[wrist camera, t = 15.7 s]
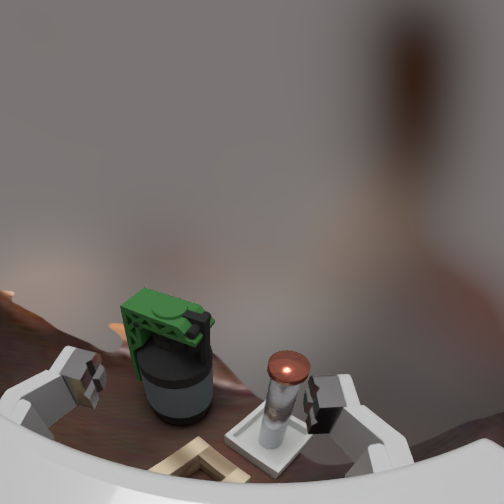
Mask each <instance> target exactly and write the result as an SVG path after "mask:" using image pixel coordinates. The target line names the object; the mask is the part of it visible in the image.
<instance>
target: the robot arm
mask: <svg viewBox="0 0 504 504" xmlns="http://www.w3.org/2000/svg"><path fill="white" fill-rule="evenodd" d="M101 361H102V359H101V357H100V354H97V353H94V352H90V351H86V350H82V349H79V348H75V347H71V346H66V347H65V348H64V349H63V351H62V352H61V354H60V355H59V356H58V358H57V359H56V361H55V362H54V364H53V365H52V367H51V368H50V370H49V371H48V370H45V371H43V372H41V373H39V374H37V375H35V376H33V377H31V378H30V379H28V380H26V381H24V382H22V383H20V384H18V385H16V386H14V387H12V388H10V389H8V390H6V392H5V393H4V395H3V396H2V398H1V399H0V504H504V448H503V447H501V446H499V445H498V444H496V443H494V442H493V441H490V440H488V439H480V440H477V441H475V442H472V443H470V444H468V445H465V446H463V447H460V448H458V449H455V450H453V451H450V452H447V453H444V454H442V455H439V456H436V457H433V458H430V459H426V460H423V461H420V462H416V463H414V461H413V458H412V455H411V452H410V450H409V447H408V444H407V441H406V439H405V437H404V436H402V435H401V434H400V433H398V432H397V431H396V430H395V429H393V428H392V427H391V426H389V425H388V424H387V423H385V422H384V421H383V420H382V419H381V418H379V417H378V416H377V415H375V414H374V413H373V412H372V411H371V410H369V409H368V408H367V407H365V406H364V405H362V406H361V405H360V402H359V399H358V396H357V393H356V390H355V387H354V384H353V381H352V379H351V376H350V375H349V374H343V375H312V376H311V377H310V378H309V381H308V384H309V387H308V388H307V389H306V390H305V394H304V401H303V402H304V412H305V413H306V414H307V415H308V417H307V419H306V426H307V432H308V434H329V435H330V436H331V437H332V439H333V440H334V441H335V442H336V443H337V444H338V445H339V446H340V448H341V449H342V450H343V451H344V452H345V453H346V454H347V455H348V456H349V458H350V459H351V460H352V461H353V462H354V463H355V464H354V465H353V466H352V468H351V469H350V470H349V471H348V472H347V473H346V475H345V477H346V478H341V479H333V480H325V481H314V482H301V483H274V484H259V483H232V482H219V481H208V480H199V479H192V478H185V477H178V476H172V475H166V474H161V473H156V472H151V471H147V470H142V469H138V468H134V467H130V466H126V465H122V464H119V463H115V462H112V461H108V460H105V459H102V458H99V457H96V456H93V455H90V454H87V453H84V452H81V451H78V450H76V449H73V448H70V447H68V446H65V445H63V444H60V443H58V442H56V441H54V439H55V438H54V435H53V434H52V433H51V431H50V430H49V429H48V427H49V426H51V425H52V424H53V423H55V422H56V421H57V420H59V419H60V418H61V417H62V416H64V415H65V414H66V413H68V412H69V411H70V410H72V409H73V408H74V407H76V406H77V405H80V406H84V407H87V408H91V409H94V408H95V406H96V404H97V402H98V400H99V394H98V392H100V391H102V390H103V389H104V386H105V384H106V371H105V368H104V367H103V366H102V365H101V364H100V363H101ZM76 404H77V405H76Z"/></svg>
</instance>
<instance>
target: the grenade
mask: <svg viewBox="0 0 504 504" xmlns="http://www.w3.org/2000/svg"><path fill="white" fill-rule="evenodd" d="M120 307H121V312H122V317H123V323H124V328H125V332H126V337H127V342H128V346H129V350H130V354H131V359H132V363H133V367H134V370H135V374H136V378H137V380H139V381H141V380H142V381H143V385H144V389H145V392H146V396H147V399H148V401H149V403H150V405H151V406H152V407H153V409H154V410H155V411H156V412H157V414H158V415H159V416H160V417H161V418H162V419H163V420H165V421H166V422H168V423H171V424H174V425H182V426H183V425H190V424H193V423H196V422H197V421H199V420H200V419H202V418H203V416H204V415H205V414H206V412H207V409H208V407H209V405H210V402H211V400H212V397H213V368H212V349H211V346H210V328H211V327H212V325H213V324H214V323H215V320H214V319H213V318H212V317H211V314H210V313H209V312H206V311H205V310H204V309H203V308H202V307H201V306H200V305H198V304H195V303H192V302H189V301H185V300H182V299H179V298H176V297H173V296H169V295H166V294H163V293H160V292H157V291H153V290H151V289H147V288H143V289H141V290H140V291H139V292H138V293H136V294H135V295H134V296H132V297H131V298H130V299H128V300H127V301H126V302H125V303H123V304H122V305H121V306H120Z"/></svg>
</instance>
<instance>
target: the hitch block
mask: <svg viewBox="0 0 504 504" xmlns="http://www.w3.org/2000/svg"><path fill="white" fill-rule="evenodd" d="M200 468H201V469H202V470H203V471H204V472H205V473H206V474H208V475H209V476H210V477H211V478H213V479H214V480H215V481H219V482H232V483H250V479H251V476H249V475H248V474H246V473H245V472H243V471H242V470H241V469H239V468H238V467H237V466H235V465H234V464H233V463H231V462H230V461H229V460H227V459H226V458H225V457H223V456H222V455H221V454H220V453H218V452H217V451H216V450H215V449H213V448H212V447H211V446H210V445H208V444H207V443H206V442H205V441H204V440H203V439H201V438H200V437H199V436H198V437H197V438H195V439H194V440H192V441H191V442H190V443H188V444H187V445H185V446H184V447H182V448H181V449H180V450H178V451H177V452H175V453H174V454H172V455H171V456H169V457H168V458H166V459H165V460H163V461H162V462H160V463H158V464H157V465H155V466H154V467H152V468H151V469H149V470H147V471H151V472H156V473H161V474H166V475H172V476H178V477H185V478H188V477H189V476H191V475H192V474H193V473H195V472H196V471H197V470H199V469H200Z"/></svg>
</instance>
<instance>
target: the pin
mask: <svg viewBox="0 0 504 504" xmlns="http://www.w3.org/2000/svg"><path fill="white" fill-rule="evenodd" d="M309 371H310V363H309V361H308V359H307V358H306V357H305V356H303V355H302V354H300V353H297V352H294V351H279V352H277V353H275V354H273V355H272V356H271V357H270V359H269V361H268V367H267V372H268V374H269V376H270V382H269V387H268V392H267V398H266V403H265V408H264V413H263V418H262V423H261V428H260V433H259V437H258V441H259V444H260V445H261V446H262V447H264V448H266V449H276V448H278V447H279V446H280V445H281V444H282V441H283V438H284V436H285V433H286V430H287V427H288V424H289V421H290V418H291V415H292V412H293V408H294V405H295V402H296V398H297V396H298V392H299V389H300V386H301V383H303V382H304V381H305V380H306V379H307V377H308V374H309Z"/></svg>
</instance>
